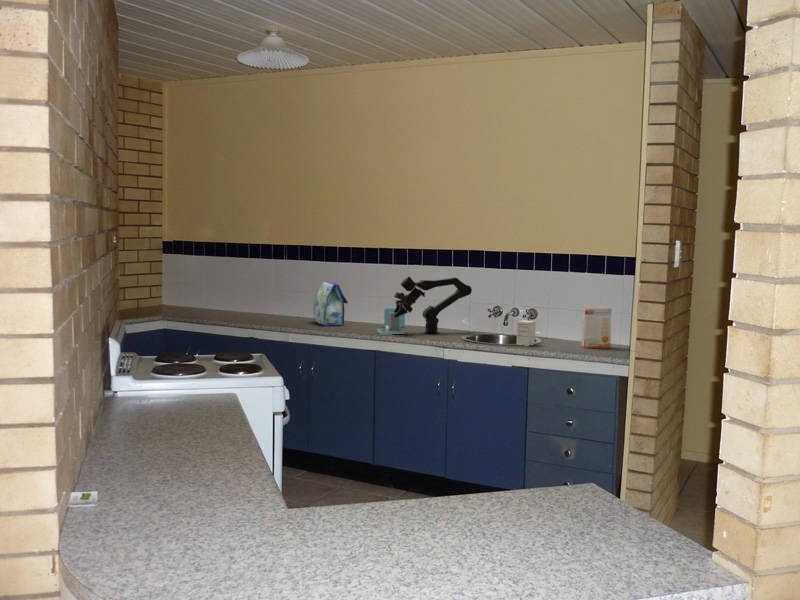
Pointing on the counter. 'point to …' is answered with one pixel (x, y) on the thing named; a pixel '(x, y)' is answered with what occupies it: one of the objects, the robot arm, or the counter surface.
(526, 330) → the white drawer cabinet
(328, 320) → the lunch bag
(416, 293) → the robot arm
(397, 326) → the drive cartridge
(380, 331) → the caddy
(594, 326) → the cracker box
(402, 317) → the teal arch frame
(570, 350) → the counter surface
